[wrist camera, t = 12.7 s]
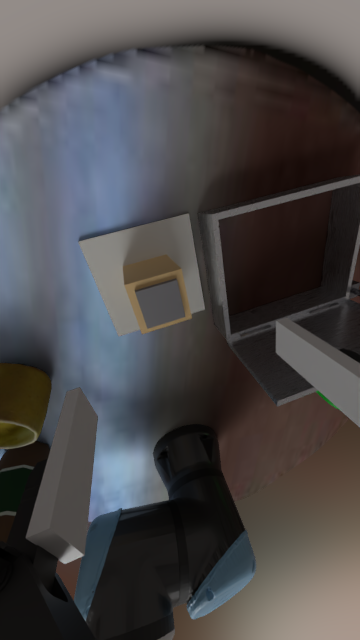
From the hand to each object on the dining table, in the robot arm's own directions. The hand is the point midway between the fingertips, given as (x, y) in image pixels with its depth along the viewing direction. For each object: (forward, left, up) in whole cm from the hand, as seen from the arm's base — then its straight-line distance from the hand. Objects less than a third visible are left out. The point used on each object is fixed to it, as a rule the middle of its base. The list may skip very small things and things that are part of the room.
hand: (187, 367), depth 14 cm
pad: (0, 0, -19) cm, 19 cm away
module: (0, 0, -19) cm, 19 cm away
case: (+19, -2, -19) cm, 27 cm away
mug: (-23, -7, -19) cm, 31 cm away
